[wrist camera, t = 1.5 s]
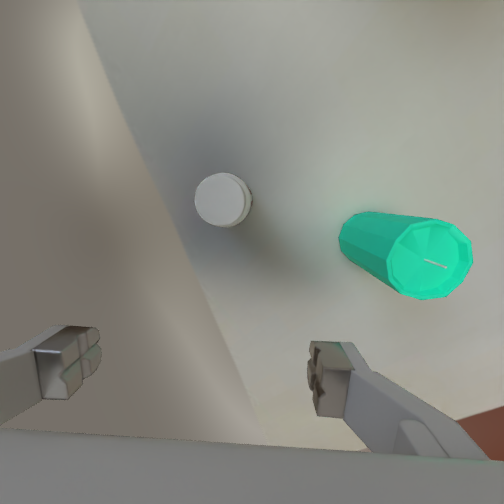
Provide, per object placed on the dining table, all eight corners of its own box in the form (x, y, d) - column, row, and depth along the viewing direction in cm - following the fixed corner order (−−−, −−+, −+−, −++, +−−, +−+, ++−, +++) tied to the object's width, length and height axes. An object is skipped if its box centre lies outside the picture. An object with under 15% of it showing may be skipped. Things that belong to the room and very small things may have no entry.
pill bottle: (206, 182, 26) (182, 174, 18) (248, 174, 26) (244, 163, 18) (214, 224, 27) (196, 235, 19) (255, 217, 27) (254, 226, 19)
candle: (400, 247, 27) (506, 284, 16) (351, 272, 28) (418, 324, 16) (379, 201, 26) (476, 203, 14) (329, 228, 27) (384, 250, 15)
